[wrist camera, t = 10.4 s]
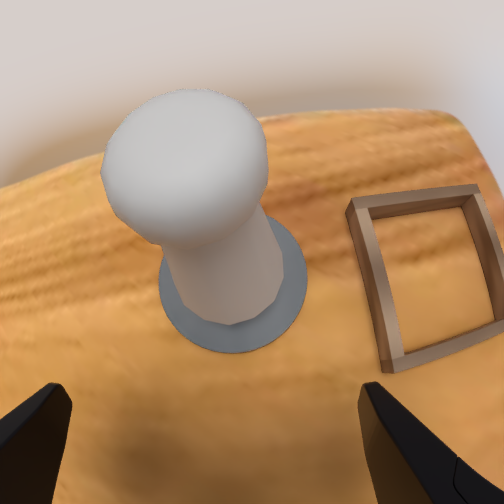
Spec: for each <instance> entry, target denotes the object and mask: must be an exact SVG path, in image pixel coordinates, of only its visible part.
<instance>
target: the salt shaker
mask: <svg viewBox="0 0 504 504" xmlns="http://www.w3.org/2000/svg"><path fill="white" fill-rule="evenodd" d="M100 174H101V177H102V181H103V185H104V188H105V191H106V195H107V198H108V201H109V203H110V205H111V207H112V209H113V211H114V213H115V215H116V216H117V217H118V218H119V219H121V220H122V221H123V222H124V223H125V224H127V225H128V226H129V227H130V228H132V229H133V230H134V231H136V232H137V233H138V234H139V235H141V236H142V237H143V238H145V239H146V240H147V241H149V242H150V243H151V244H157V245H161V247H162V250H163V253H164V255H165V258H166V261H167V263H168V266H169V269H170V272H171V275H172V278H173V281H174V284H175V286H176V288H177V291H178V293H179V295H180V297H181V300H182V302H183V304H184V305H185V306H186V307H187V308H189V309H190V310H191V311H193V312H194V313H195V314H197V315H198V316H199V317H201V318H202V319H204V320H207V321H212V322H216V323H221V324H226V325H232V324H235V323H238V322H242V321H245V320H249V319H252V318H255V317H256V316H257V315H258V314H260V313H261V312H262V311H263V310H264V309H265V308H267V307H268V306H269V305H270V304H271V303H273V302H274V301H275V298H276V296H277V293H278V291H279V288H280V286H281V283H282V280H283V278H284V273H283V258H282V252H281V249H280V247H279V245H278V243H277V240H276V238H275V236H274V233H273V231H272V229H271V227H270V224H269V222H268V220H267V218H266V215H265V213H264V211H263V209H262V207H261V204H260V202H259V201H260V199H261V197H262V195H263V192H264V190H265V188H266V186H267V182H268V158H267V145H266V138H265V135H264V132H263V129H262V126H261V124H260V123H259V121H258V120H257V119H256V118H255V116H254V115H253V114H252V113H251V112H250V110H249V109H248V108H247V107H246V106H245V105H244V103H242V102H240V101H237V100H235V99H233V98H231V97H229V96H226V95H224V94H222V93H219V92H217V91H213V90H209V89H180V90H176V91H173V92H169V93H166V94H163V95H159V96H157V97H153V98H152V99H150V100H149V101H147V102H146V103H144V104H143V105H141V106H140V107H138V108H137V109H136V110H134V111H133V112H131V113H130V114H129V115H128V116H127V117H126V119H125V120H124V121H123V122H122V124H121V125H120V126H119V128H118V129H117V130H116V132H115V133H114V134H113V136H112V137H111V139H110V140H109V142H108V143H107V145H106V149H105V154H104V158H103V163H102V167H101V172H100Z"/></svg>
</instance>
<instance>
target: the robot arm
mask: <svg viewBox="0 0 504 504" xmlns="http://www.w3.org/2000/svg"><path fill="white" fill-rule="evenodd" d="M71 411H72V401H71V399H70V397H69V396H68V394H67V392H66V391H65V389H64V387H63V386H62V385H61V384H59V383H52V382H51V383H48V384H47V385H46V386H44V387H43V388H42V389H40V390H39V391H38V392H36V393H35V394H34V395H32V396H31V397H29V398H28V399H27V400H25V401H24V402H23V403H21V404H20V405H19V406H17V407H16V408H15V409H13V410H12V411H11V412H9V413H8V414H7V415H6V416H4V417H3V418H2V419H0V504H52V500H53V495H54V490H55V486H56V481H57V477H58V473H59V469H60V465H61V461H62V457H63V453H64V449H65V445H66V439H67V433H68V427H69V422H70V417H71ZM358 413H359V419H360V425H361V431H362V438H363V445H364V451H365V456H366V460H367V464H368V467H369V471H370V475H371V479H372V482H373V486H374V490H375V494H376V498H377V501H378V504H504V491H502V490H501V489H499V488H498V487H496V486H495V485H493V484H492V483H490V482H489V481H488V480H486V479H485V478H484V477H482V476H481V475H480V474H478V473H477V472H476V471H475V470H474V469H472V468H471V467H470V466H469V465H468V464H467V463H465V462H464V461H463V460H462V459H461V458H460V457H457V455H456V454H455V453H454V452H453V451H452V450H451V449H450V448H449V447H448V446H447V445H446V444H444V443H443V442H442V441H441V440H440V439H439V438H438V437H437V436H436V435H435V434H434V433H432V432H431V431H430V430H429V429H428V428H427V427H426V426H425V425H424V424H423V423H422V422H420V421H419V420H418V419H417V418H416V417H415V416H414V415H413V414H412V413H411V412H410V411H409V410H407V409H406V408H405V407H404V406H403V405H402V404H401V403H400V402H399V401H398V400H397V399H396V398H394V397H393V396H392V395H391V394H390V393H389V392H388V391H387V390H386V389H385V388H384V387H383V386H381V385H380V384H379V383H378V382H369V383H364V384H363V385H362V387H361V391H360V395H359V399H358Z"/></svg>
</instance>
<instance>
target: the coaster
mask: <svg viewBox="0 0 504 504" xmlns="http://www.w3.org/2000/svg"><path fill="white" fill-rule="evenodd" d="M266 218H267V220H268V222H269V224H270V227H271V229H272V231H273V233H274V236H275V238H276V240H277V243H278V245H279V247H280V249H281V252H282V258H283V273H284V278H283V280H282V283H281V286H280V288H279V291H278V293H277V296H276V298H275V301H274V302H273V303H271V304H270V305H269V306H268V307H267V308H265V309H264V310H263V311H262V312H261V313H260V314H258V315H257V316H256V317H255V318H252V319H249V320H245V321H242V322H238V323H235V324H232V325H226V324H221V323H216V322H212V321H207V320H204V319H202V318H201V317H199V316H198V315H197V314H195V313H194V312H193V311H191V310H190V309H189V308H187V307H186V306H185V305H184V304H183V302H182V300H181V297H180V295H179V293H178V291H177V288H176V286H175V284H174V281H173V278H172V275H171V272H170V269H169V266H168V263H167V261H166V258H165V255H164V257H163V260H162V263H161V267H160V272H159V292H160V298H161V302H162V305H163V308H164V310H165V312H166V314H167V316H168V318H169V319H170V321H171V323H172V324H173V325H174V326H175V328H176V329H177V330H178V331H179V332H180V333H181V334H182V335H183V336H185V337H186V338H187V339H189V340H190V341H192V342H193V343H195V344H197V345H199V346H201V347H203V348H206V349H209V350H212V351H217V352H223V353H241V352H247V351H252V350H255V349H258V348H260V347H263V346H265V345H267V344H269V343H270V342H272V341H274V340H275V339H276V338H278V337H279V336H280V335H282V334H283V333H284V332H285V331H286V330H287V329H288V328H289V326H290V325H291V324H292V322H293V321H294V320H295V318H296V316H297V315H298V313H299V311H300V309H301V307H302V304H303V302H304V298H305V294H306V289H307V269H306V263H305V259H304V256H303V253H302V251H301V249H300V247H299V245H298V243H297V242H296V240H295V238H294V237H293V236H292V235H291V233H290V232H289V231H288V230H287V229H286V228H285V227H284V226H283V225H281V224H280V223H279V222H277V221H276V220H274V219H273V218H271V217H269V216H267V215H266Z"/></svg>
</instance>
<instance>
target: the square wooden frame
mask: <svg viewBox="0 0 504 504" xmlns="http://www.w3.org/2000/svg"><path fill="white" fill-rule="evenodd" d="M460 206H461V207H462V209H463V212H464V214H465V217H466V220H467V222H468V225H469V228H470V231H471V234H472V236H473V239H474V242H475V245H476V248H477V252H478V255H479V258H480V261H481V265H482V268H483V271H484V275H485V279H486V282H487V286H488V290H489V294H490V298H491V302H492V307H493V311H494V316H495V321H493V322H491V323H488V324H486V325H483V326H481V327H478V328H476V329H473V330H471V331H468V332H465V333H463V334H460V335H457V336H455V337H452V338H449V339H446V340H443V341H440V342H437V343H435V344H432V345H429V346H426V347H422V348H419V349H416V350H413V351H410V352H406V353H404V349H403V344H402V339H401V334H400V329H399V324H398V320H397V315H396V310H395V306H394V302H393V297H392V293H391V289H390V285H389V281H388V277H387V273H386V270H385V266H384V262H383V259H382V255H381V251H380V248H379V244H378V241H377V238H376V234H375V231H374V228H373V224H372V221H371V220H372V219H379V218H385V217H392V216H399V215H405V214H412V213H419V212H426V211H432V210H439V209H446V208H453V207H460ZM345 214H346V217H347V220H348V224H349V227H350V231H351V234H352V238H353V242H354V245H355V249H356V253H357V257H358V261H359V264H360V268H361V272H362V276H363V281H364V285H365V289H366V293H367V297H368V302H369V306H370V311H371V316H372V320H373V325H374V330H375V335H376V340H377V345H378V350H379V356H380V361H381V367H382V373H397V372H400V371H403V370H407V369H410V368H413V367H416V366H419V365H422V364H425V363H428V362H431V361H433V360H436V359H439V358H442V357H444V356H447V355H450V354H452V353H455V352H458V351H460V350H463V349H465V348H468V347H470V346H473V345H475V344H477V343H480V342H482V341H484V340H487V339H489V338H491V337H493V336H496V335H498V334H500V333H502V332H504V254H503V251H502V248H501V245H500V242H499V239H498V236H497V233H496V230H495V227H494V225H493V222H492V219H491V217H490V214H489V212H488V209H487V207H486V204H485V202H484V199H483V197H482V195H481V192H480V190H479V188H478V185H477V184H468V185H458V186H448V187H439V188H429V189H420V190H411V191H403V192H394V193H386V194H378V195H370V196H363V197H355V198H351V201H350V203H349V205H348V207H347V209H346V212H345Z"/></svg>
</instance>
